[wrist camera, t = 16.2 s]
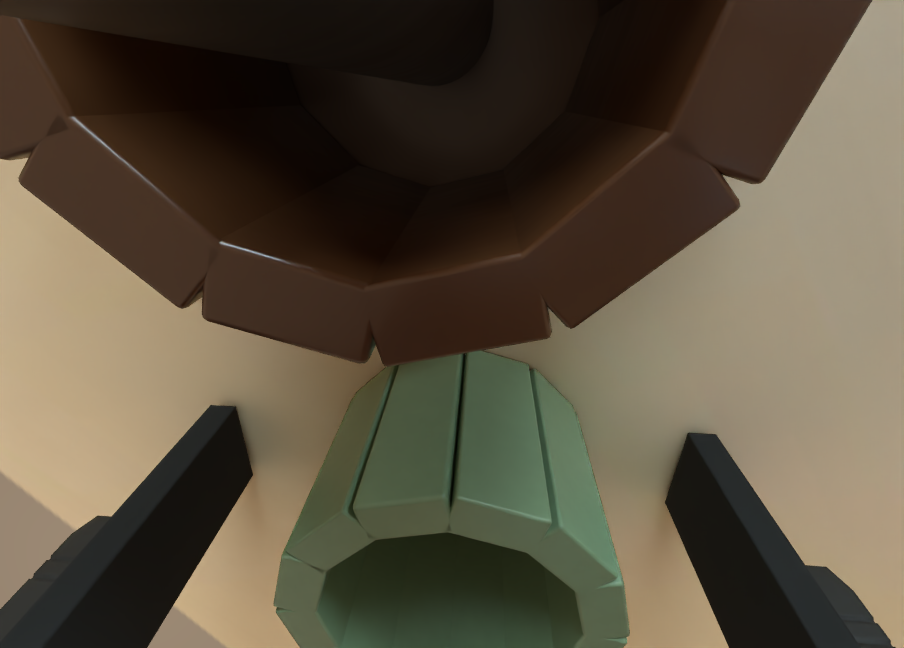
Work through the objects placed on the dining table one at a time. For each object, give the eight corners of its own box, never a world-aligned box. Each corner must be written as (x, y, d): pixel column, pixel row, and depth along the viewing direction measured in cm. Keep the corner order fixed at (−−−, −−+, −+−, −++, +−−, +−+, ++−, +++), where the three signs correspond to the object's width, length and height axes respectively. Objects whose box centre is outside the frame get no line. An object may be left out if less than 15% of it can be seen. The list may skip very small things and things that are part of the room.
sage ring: (629, 460, 13) (700, 646, 9) (456, 557, 16) (444, 739, 11) (466, 299, 11) (452, 433, 7) (300, 439, 14) (209, 604, 9)
